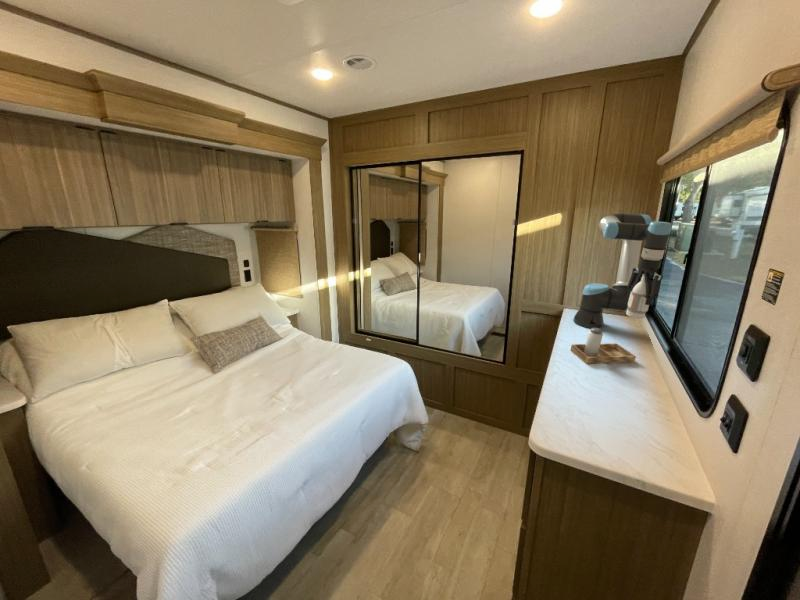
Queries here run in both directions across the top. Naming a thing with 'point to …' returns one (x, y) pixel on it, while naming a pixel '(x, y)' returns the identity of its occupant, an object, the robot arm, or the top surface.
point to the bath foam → (637, 300)
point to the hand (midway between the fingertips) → (637, 307)
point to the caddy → (604, 354)
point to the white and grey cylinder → (593, 342)
